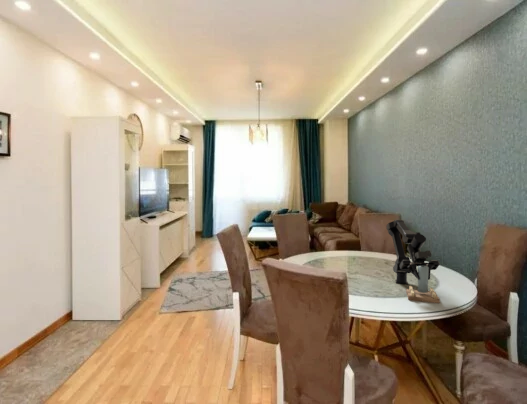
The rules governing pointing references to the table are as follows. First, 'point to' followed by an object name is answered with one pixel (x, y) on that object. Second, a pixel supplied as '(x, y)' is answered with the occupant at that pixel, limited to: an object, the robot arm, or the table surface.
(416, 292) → the display plinth
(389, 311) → the table surface
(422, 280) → the spectacles tube
